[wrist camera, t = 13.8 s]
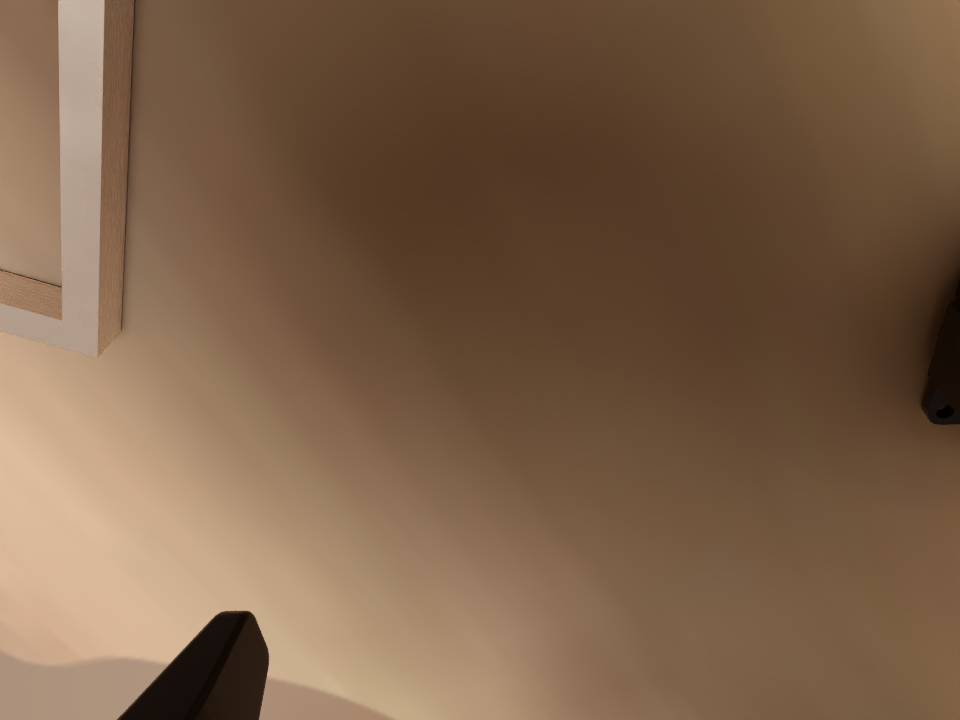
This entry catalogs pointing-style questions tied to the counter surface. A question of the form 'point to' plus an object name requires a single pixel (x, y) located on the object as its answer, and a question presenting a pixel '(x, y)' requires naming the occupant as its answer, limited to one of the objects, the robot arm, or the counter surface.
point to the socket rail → (85, 186)
